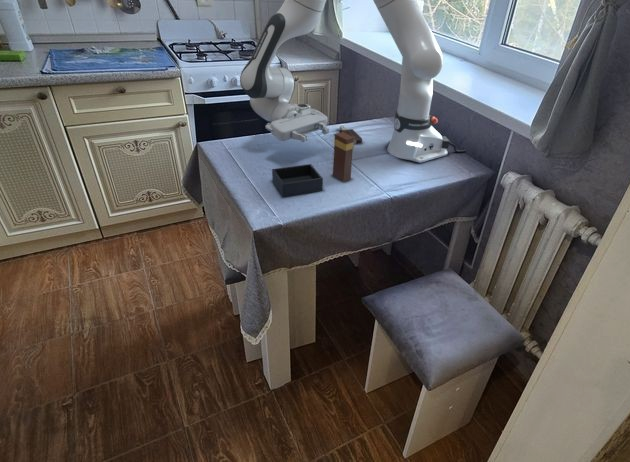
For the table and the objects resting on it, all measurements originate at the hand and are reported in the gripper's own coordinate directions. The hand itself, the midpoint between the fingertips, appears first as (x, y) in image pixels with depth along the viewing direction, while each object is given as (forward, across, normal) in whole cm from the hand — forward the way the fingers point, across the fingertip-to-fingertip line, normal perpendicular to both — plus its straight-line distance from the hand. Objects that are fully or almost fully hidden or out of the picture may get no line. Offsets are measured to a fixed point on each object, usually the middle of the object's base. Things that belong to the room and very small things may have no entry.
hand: (316, 135), depth 136 cm
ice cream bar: (-8, +25, +11) cm, 29 cm away
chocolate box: (+13, 0, +8) cm, 15 cm away
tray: (+8, -15, +9) cm, 19 cm away
